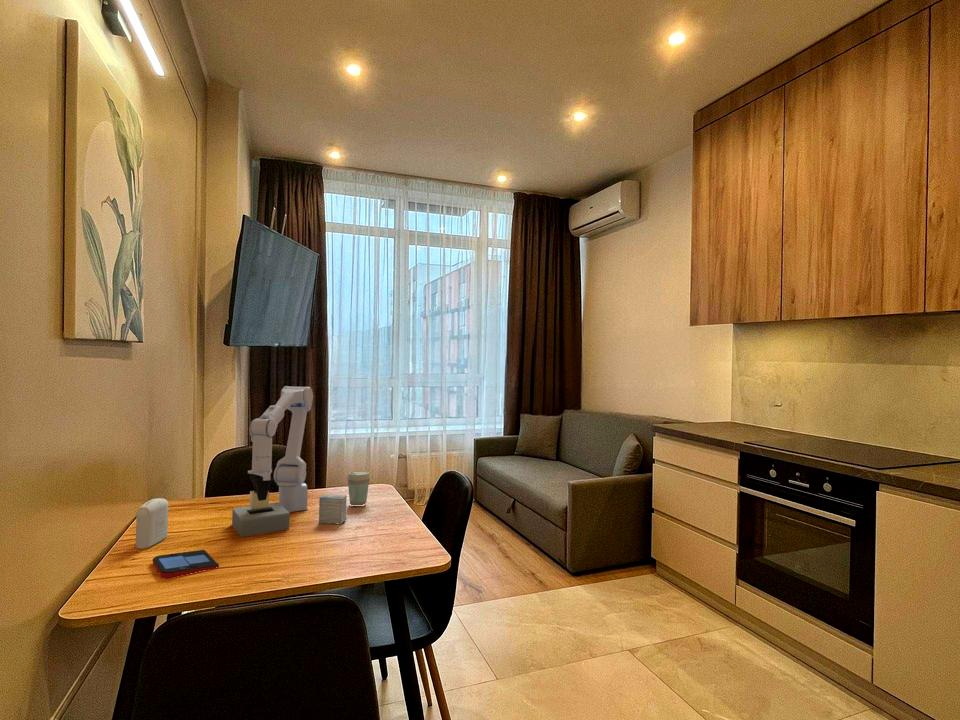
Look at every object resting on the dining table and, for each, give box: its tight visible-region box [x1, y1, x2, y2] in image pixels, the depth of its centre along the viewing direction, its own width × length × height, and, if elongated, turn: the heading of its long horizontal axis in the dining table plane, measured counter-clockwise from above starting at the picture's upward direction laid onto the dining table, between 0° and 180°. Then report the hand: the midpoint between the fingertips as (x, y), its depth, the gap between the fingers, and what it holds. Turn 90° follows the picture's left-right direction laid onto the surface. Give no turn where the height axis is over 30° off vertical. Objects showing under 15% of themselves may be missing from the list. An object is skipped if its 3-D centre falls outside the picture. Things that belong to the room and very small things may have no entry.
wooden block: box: [249, 490, 270, 509], centre depth 161 cm, size 5×3×5 cm, turn 126°
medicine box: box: [318, 494, 348, 525], centre depth 168 cm, size 8×4×9 cm, turn 84°
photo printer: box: [134, 497, 169, 550], centre depth 145 cm, size 10×4×12 cm, turn 2°
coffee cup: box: [346, 470, 371, 505], centre depth 189 cm, size 9×8×12 cm
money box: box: [231, 502, 291, 538], centre depth 162 cm, size 14×14×5 cm
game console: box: [152, 549, 220, 579], centre depth 130 cm, size 14×13×2 cm
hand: (260, 498), depth 162 cm, fingers closed on wooden block, 3 cm apart
